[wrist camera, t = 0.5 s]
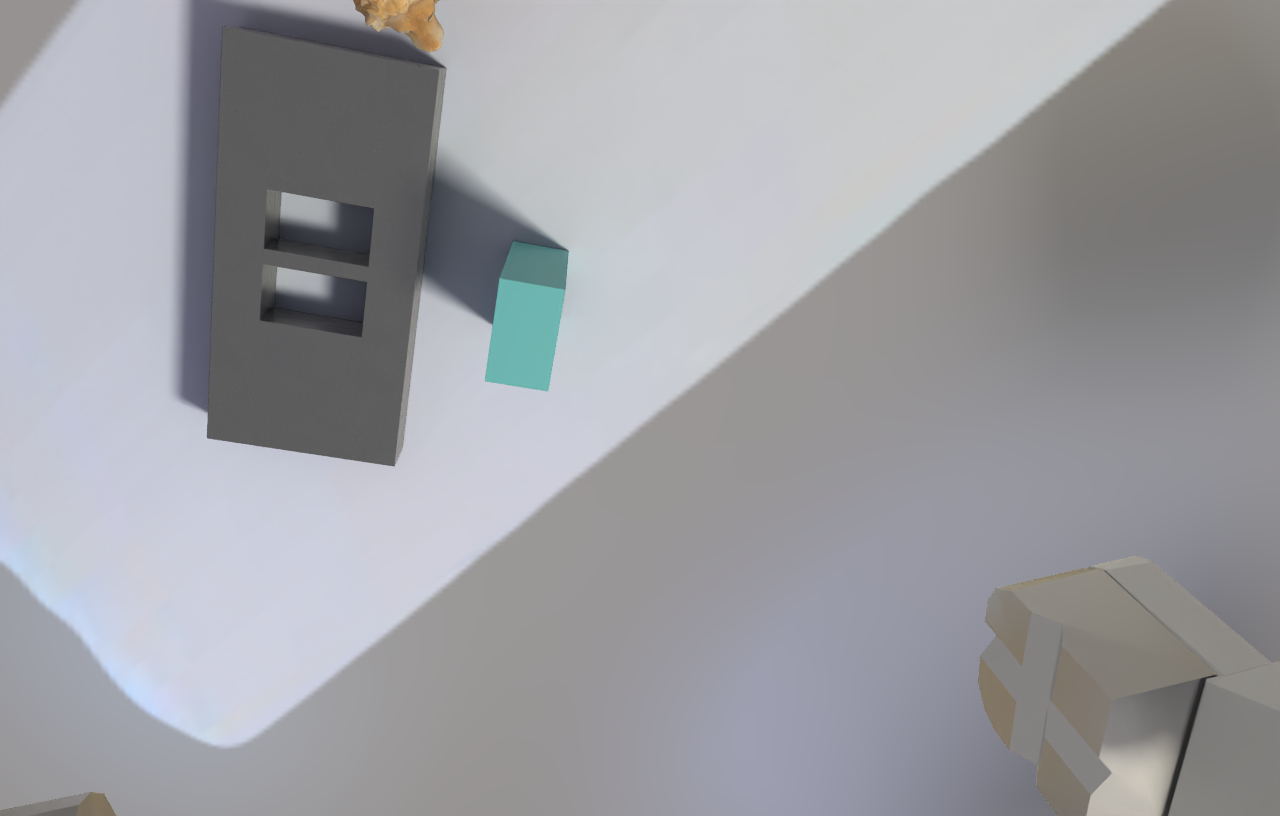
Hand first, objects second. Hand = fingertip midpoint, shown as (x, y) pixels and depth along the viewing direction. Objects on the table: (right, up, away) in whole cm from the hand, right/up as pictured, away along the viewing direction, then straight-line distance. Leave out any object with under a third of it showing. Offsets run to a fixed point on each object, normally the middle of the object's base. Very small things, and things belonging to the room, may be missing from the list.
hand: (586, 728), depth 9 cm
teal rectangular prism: (-5, +9, +44) cm, 45 cm away
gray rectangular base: (-16, +11, +42) cm, 47 cm away
